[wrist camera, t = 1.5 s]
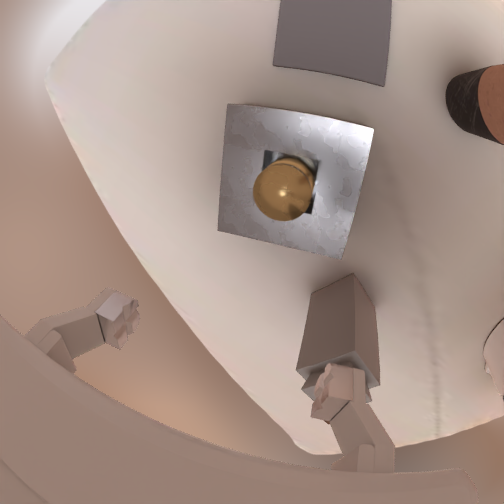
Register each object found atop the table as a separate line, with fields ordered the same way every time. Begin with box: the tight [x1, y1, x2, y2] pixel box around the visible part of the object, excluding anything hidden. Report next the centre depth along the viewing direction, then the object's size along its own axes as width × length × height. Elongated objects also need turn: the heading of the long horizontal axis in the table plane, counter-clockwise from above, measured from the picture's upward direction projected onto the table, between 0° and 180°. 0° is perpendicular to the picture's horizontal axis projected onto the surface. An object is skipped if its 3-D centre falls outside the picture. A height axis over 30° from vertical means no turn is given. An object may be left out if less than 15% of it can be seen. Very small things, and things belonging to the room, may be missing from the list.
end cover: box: [253, 154, 317, 221], centre depth 26 cm, size 5×5×8 cm
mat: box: [273, 0, 392, 87], centre depth 21 cm, size 12×12×1 cm
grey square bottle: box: [296, 273, 380, 424], centre depth 29 cm, size 7×7×18 cm
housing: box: [218, 104, 374, 260], centre depth 29 cm, size 14×14×5 cm
